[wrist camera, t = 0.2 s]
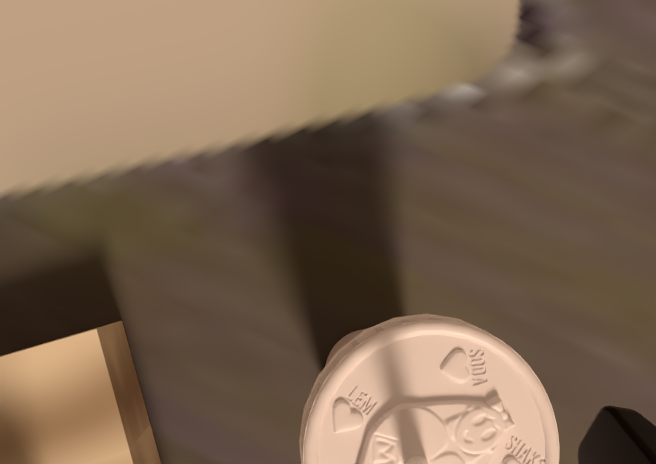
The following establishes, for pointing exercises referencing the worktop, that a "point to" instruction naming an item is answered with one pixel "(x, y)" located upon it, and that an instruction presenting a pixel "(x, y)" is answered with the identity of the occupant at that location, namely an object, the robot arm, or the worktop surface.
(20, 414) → the mount board
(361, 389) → the smoothie
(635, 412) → the robot arm
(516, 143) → the worktop surface
